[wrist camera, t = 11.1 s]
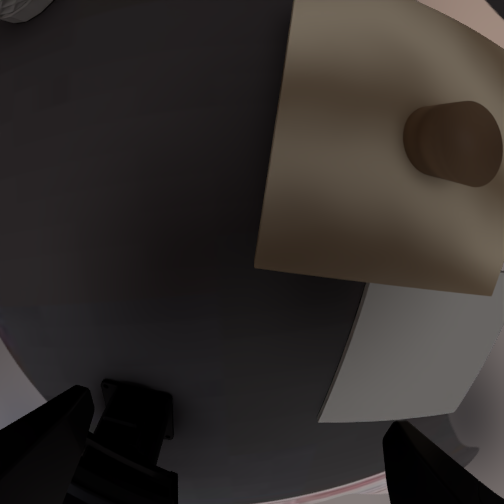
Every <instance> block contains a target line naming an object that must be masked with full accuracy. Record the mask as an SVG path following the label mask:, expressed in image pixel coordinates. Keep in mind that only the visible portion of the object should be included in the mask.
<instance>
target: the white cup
mask: <svg viewBox="0 0 504 504" xmlns="http://www.w3.org/2000/svg"><path fill="white" fill-rule="evenodd" d="M52 1H53V0H0V19H1V20H5V21H8V22H12V23H19V22H26V21H28V20H30V19H31V18H33V17H35V16H36V15H38V14H40V13H41V12H42V11H43V10H44V9H45V8H46V7H47V6H48V5H49V4H50V3H51V2H52Z"/></svg>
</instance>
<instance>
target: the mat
mask: <svg viewBox="0 0 504 504" xmlns="http://www.w3.org/2000/svg"><path fill="white" fill-rule="evenodd" d="M503 325H504V271H501V272H500V275H499V277H498V280H497V283H496V286H495V289H494V291H493V294H492V296H482V295H473V294H463V293H454V292H445V291H436V290H427V289H418V288H410V287H401V286H392V285H384V284H376V283H367V282H366V285H365V288H364V292H363V295H362V298H361V301H360V305H359V308H358V311H357V314H356V317H355V320H354V323H353V326H352V329H351V332H350V335H349V338H348V341H347V343H346V346H345V349H344V352H343V355H342V357H341V360H340V363H339V365H338V368H337V371H336V373H335V376H334V378H333V381H332V383H331V386H330V388H329V391H328V393H327V396H326V398H325V400H324V403H323V405H322V408H321V410H320V412H319V415H318V417H317V419H318V422H368V421H385V420H397V419H408V418H417V417H425V416H433V415H440V414H447V413H453V412H455V410H456V409H457V407H458V406H459V404H460V403H461V401H462V400H463V398H464V397H465V395H466V394H467V392H468V390H469V389H470V387H471V385H472V384H473V382H474V380H475V379H476V377H477V375H478V373H479V372H480V370H481V368H482V366H483V365H484V363H485V361H486V359H487V357H488V355H489V354H490V352H491V350H492V348H493V346H494V344H495V342H496V340H497V337H498V335H499V333H500V331H501V329H502V327H503Z"/></svg>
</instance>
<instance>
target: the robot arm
mask: <svg viewBox="0 0 504 504" xmlns="http://www.w3.org/2000/svg"><path fill="white" fill-rule="evenodd" d="M101 388H102V392H103V397H104V401H105V405H106V408H105V410H104V412H103V414H102V416H101V418H100V420H99V423H98V425H97V427H96V429H95V431H94V433H91V432H89V428H90V424H91V421H92V418H93V414H94V404H93V400H92V396H91V392H90V390H89V389H88V388H86V387H83V386H80V385H75V386H73V387H71V388H70V389H68V390H66V391H65V392H63V393H61V394H60V395H58V396H56V397H55V398H53V399H52V400H50V401H48V402H47V403H45V404H43V405H42V406H40V407H38V408H37V409H35V410H33V411H32V412H30V413H28V414H27V415H25V416H23V417H21V418H20V419H18V420H17V421H15V422H13V423H11V424H10V425H8V426H6V427H5V428H3V429H1V430H0V504H178V474H177V473H175V472H172V471H171V472H170V471H167V470H165V469H163V468H160V467H158V466H156V464H157V460H158V457H159V453H160V449H161V445H162V442H163V439H168V440H171V439H173V435H174V432H173V405H172V397H171V395H169V394H166V393H161V392H156V391H152V390H147V389H142V388H138V387H134V386H130V385H126V384H122V383H118V382H114V381H110V380H106V379H105V380H103V381H102V383H101ZM383 453H384V462H385V473H386V482H387V488H388V492H389V497H390V503H391V504H504V499H503V498H502V497H500V496H499V495H497V494H496V493H494V492H493V491H492V490H490V489H489V488H488V487H487V486H485V485H484V484H483V483H481V482H480V481H478V479H476V478H475V477H474V476H473V475H472V474H470V473H469V472H468V471H467V470H465V469H464V468H463V467H462V466H461V465H459V464H458V463H457V462H456V461H455V460H453V459H452V458H451V457H450V456H449V455H447V454H446V453H445V452H444V451H443V450H441V449H440V448H439V447H438V446H437V445H435V444H434V443H433V442H432V441H431V440H430V439H428V438H427V437H426V436H425V435H424V434H422V433H421V432H420V431H419V430H418V429H417V428H415V427H414V426H413V425H412V424H411V423H410V422H408V421H407V420H398V421H394V422H393V423H392V425H391V426H390V428H389V429H388V431H387V432H386V434H385V435H384V438H383Z"/></svg>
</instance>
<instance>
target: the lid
mask: <svg viewBox="0 0 504 504" xmlns="http://www.w3.org/2000/svg"><path fill="white" fill-rule="evenodd" d="M503 262H504V49H503V48H501V47H500V46H498V45H497V44H495V43H494V42H492V41H491V40H489V39H488V38H486V37H484V36H483V35H481V34H480V33H478V32H476V31H475V30H473V29H471V28H469V27H468V26H466V25H464V24H462V23H460V22H459V21H457V20H455V19H453V18H451V17H449V16H447V15H445V14H443V13H441V12H439V11H437V10H435V9H433V8H431V7H428V6H426V5H424V4H422V3H420V2H417V1H415V0H293V7H292V14H291V20H290V27H289V34H288V41H287V47H286V54H285V61H284V67H283V74H282V81H281V88H280V94H279V101H278V107H277V114H276V121H275V127H274V134H273V141H272V147H271V154H270V160H269V167H268V173H267V180H266V187H265V193H264V200H263V206H262V213H261V219H260V226H259V232H258V239H257V245H256V252H255V258H254V268H258V269H266V270H273V271H281V272H288V273H296V274H304V275H311V276H319V277H327V278H335V279H343V280H351V281H359V282H367V283H376V284H384V285H392V286H401V287H410V288H418V289H427V290H436V291H445V292H454V293H463V294H473V295H482V296H492V294H493V291H494V289H495V286H496V283H497V280H498V277H499V275H500V272H501V269H502V265H503Z"/></svg>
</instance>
